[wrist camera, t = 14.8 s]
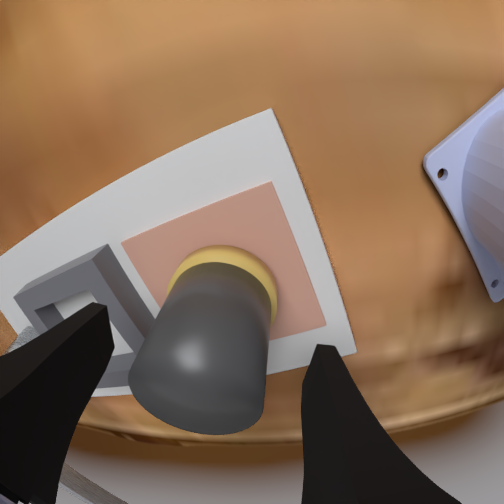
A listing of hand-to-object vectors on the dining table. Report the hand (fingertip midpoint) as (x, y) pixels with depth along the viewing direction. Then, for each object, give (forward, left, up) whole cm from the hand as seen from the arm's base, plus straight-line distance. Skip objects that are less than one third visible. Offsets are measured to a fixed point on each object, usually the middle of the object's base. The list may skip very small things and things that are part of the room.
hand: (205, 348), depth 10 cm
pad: (0, 0, -4) cm, 4 cm away
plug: (0, 0, -4) cm, 4 cm away
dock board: (+2, +6, -5) cm, 8 cm away
